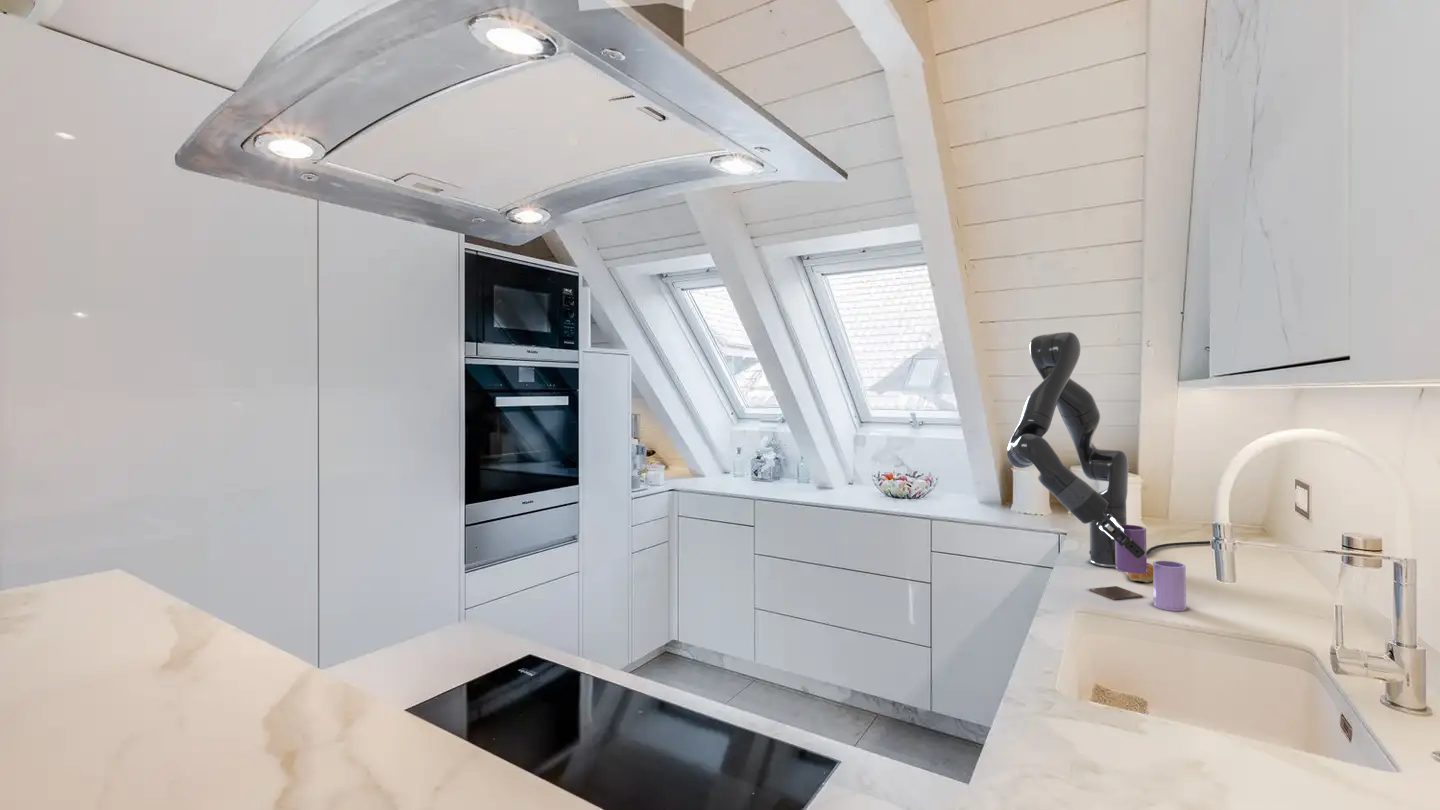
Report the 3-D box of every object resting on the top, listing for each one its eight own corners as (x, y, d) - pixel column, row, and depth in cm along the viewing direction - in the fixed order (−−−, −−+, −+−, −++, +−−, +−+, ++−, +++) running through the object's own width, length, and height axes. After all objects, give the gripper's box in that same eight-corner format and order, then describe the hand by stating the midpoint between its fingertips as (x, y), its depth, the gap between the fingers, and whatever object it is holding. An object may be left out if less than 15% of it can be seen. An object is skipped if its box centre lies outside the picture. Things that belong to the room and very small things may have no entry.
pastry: (1154, 585, 167) (1153, 571, 167) (1123, 581, 171) (1123, 567, 171) (1159, 577, 174) (1159, 563, 174) (1130, 573, 179) (1129, 559, 179)
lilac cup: (1169, 601, 155) (1168, 559, 155) (1192, 609, 149) (1192, 566, 149) (1147, 603, 154) (1146, 561, 153) (1170, 612, 147) (1169, 568, 147)
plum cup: (1131, 565, 156) (1130, 523, 156) (1153, 572, 150) (1152, 529, 150) (1109, 567, 155) (1108, 525, 155) (1130, 574, 149) (1129, 531, 149)
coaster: (1116, 587, 166) (1116, 586, 166) (1142, 597, 158) (1142, 595, 158) (1089, 590, 165) (1089, 588, 165) (1114, 599, 157) (1114, 598, 157)
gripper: (1096, 493, 149) (1158, 548, 144) (1089, 484, 162) (1146, 534, 157) (1070, 515, 151) (1131, 570, 146) (1066, 504, 164) (1121, 554, 159)
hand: (1138, 551), depth 152 cm, fingers closed on plum cup, 6 cm apart
